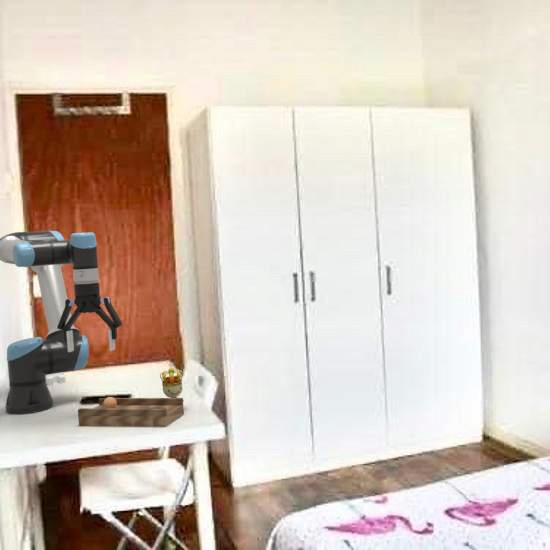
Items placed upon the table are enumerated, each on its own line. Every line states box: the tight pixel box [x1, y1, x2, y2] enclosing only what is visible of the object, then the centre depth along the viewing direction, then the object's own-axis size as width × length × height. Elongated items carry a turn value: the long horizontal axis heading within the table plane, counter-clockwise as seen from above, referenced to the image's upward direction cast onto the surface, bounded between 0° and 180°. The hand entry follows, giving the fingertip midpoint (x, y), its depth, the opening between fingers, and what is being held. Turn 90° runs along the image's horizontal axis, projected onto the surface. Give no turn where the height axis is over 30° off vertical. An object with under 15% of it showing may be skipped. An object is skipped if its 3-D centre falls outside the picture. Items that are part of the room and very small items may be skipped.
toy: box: [159, 362, 184, 403], centre depth 219 cm, size 7×7×15 cm
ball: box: [103, 396, 117, 409], centre depth 211 cm, size 4×4×4 cm
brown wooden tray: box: [77, 397, 185, 428], centre depth 210 cm, size 28×14×5 cm, turn 76°
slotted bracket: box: [46, 372, 67, 386], centre depth 279 cm, size 13×7×8 cm, turn 24°
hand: (91, 350), depth 214 cm, fingers open, 13 cm apart
